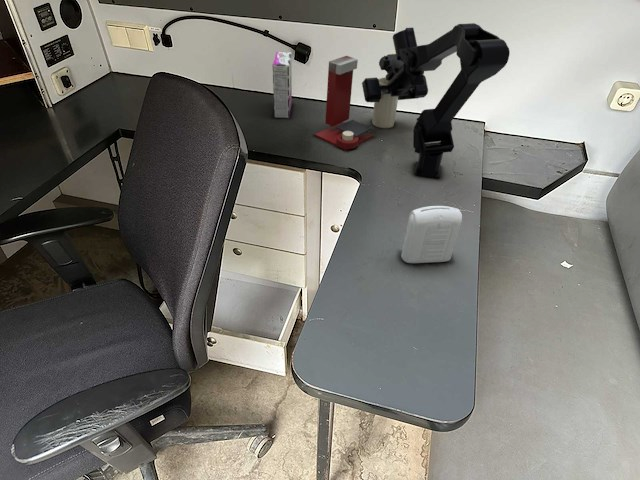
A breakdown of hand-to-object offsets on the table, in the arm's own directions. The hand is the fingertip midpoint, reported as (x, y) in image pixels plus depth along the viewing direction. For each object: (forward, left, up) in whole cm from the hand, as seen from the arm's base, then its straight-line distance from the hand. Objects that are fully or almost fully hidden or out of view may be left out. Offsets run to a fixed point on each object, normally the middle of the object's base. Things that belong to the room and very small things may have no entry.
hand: (384, 99), depth 141 cm
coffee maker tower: (-12, +8, -4) cm, 15 cm away
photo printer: (-61, -16, -7) cm, 64 cm away
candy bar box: (-2, +31, -7) cm, 32 cm away
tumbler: (-1, -1, -7) cm, 7 cm away
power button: (-19, +7, -5) cm, 21 cm away
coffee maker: (-14, +9, -7) cm, 18 cm away
